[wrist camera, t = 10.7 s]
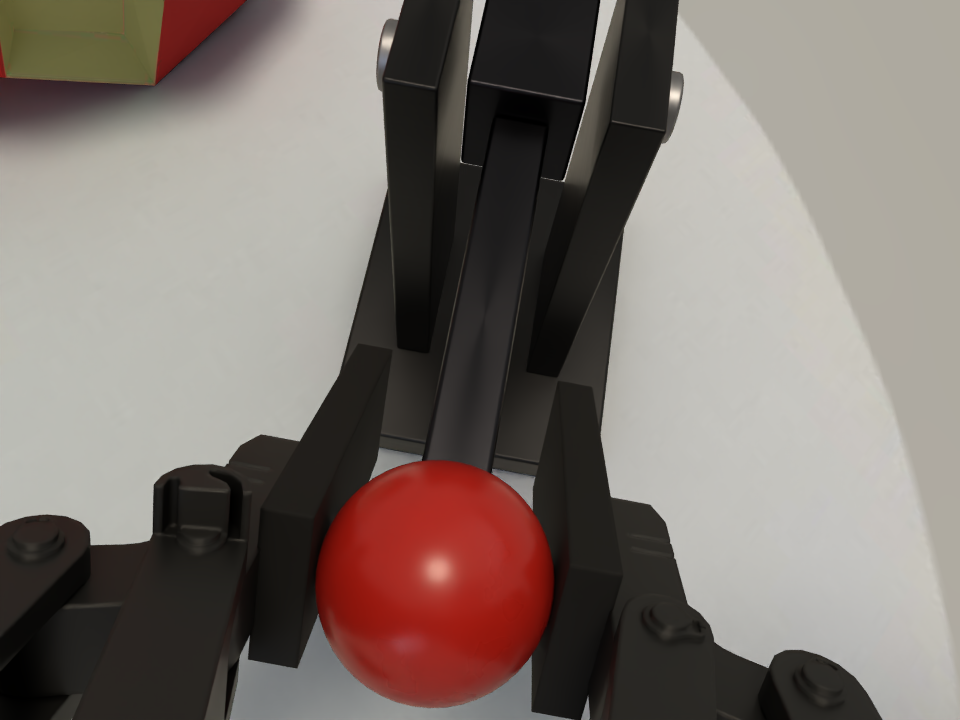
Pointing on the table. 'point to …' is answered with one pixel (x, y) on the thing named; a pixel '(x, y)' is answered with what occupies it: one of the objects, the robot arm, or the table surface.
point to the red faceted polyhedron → (104, 37)
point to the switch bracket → (556, 228)
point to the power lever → (467, 409)
